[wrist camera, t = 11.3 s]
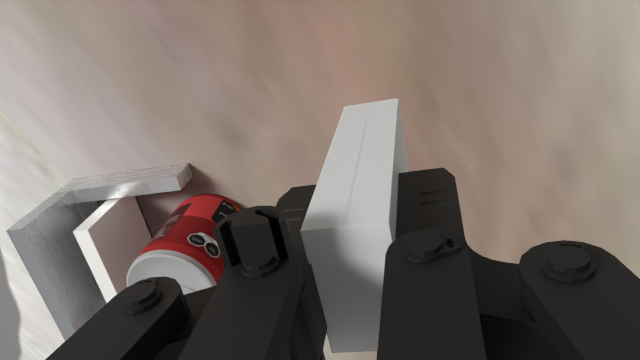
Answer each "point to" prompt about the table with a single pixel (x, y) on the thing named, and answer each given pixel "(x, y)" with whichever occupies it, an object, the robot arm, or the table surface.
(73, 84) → the table surface
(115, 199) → the white flat block
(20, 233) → the frame
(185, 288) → the canned food
